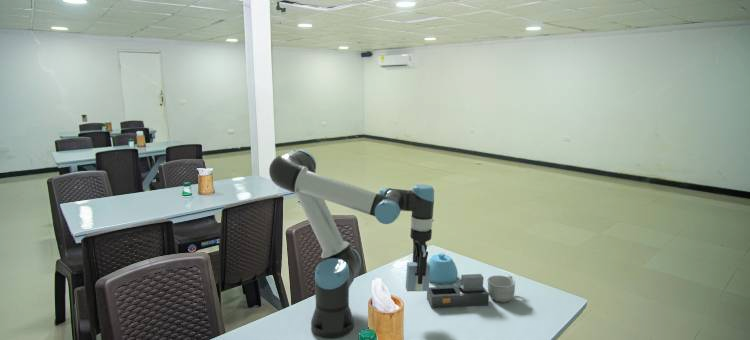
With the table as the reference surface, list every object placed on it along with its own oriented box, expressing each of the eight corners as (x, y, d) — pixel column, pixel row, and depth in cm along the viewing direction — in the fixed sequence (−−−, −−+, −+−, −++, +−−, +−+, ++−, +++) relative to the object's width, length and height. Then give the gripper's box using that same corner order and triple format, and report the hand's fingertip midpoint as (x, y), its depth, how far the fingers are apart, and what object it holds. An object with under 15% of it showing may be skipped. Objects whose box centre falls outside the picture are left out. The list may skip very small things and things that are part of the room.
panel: (407, 291, 149) (408, 265, 147) (405, 287, 152) (407, 262, 150) (428, 291, 150) (430, 265, 148) (426, 287, 153) (428, 262, 151)
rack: (431, 309, 159) (432, 282, 157) (426, 298, 167) (427, 273, 164) (488, 306, 162) (490, 280, 160) (481, 296, 169) (482, 271, 167)
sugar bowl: (422, 270, 193) (423, 247, 191) (454, 271, 193) (455, 248, 191) (425, 285, 179) (426, 260, 176) (459, 286, 178) (461, 261, 176)
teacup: (501, 307, 160) (503, 289, 159) (480, 296, 169) (481, 278, 168) (524, 298, 168) (526, 280, 167) (503, 287, 177) (504, 270, 175)
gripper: (437, 235, 139) (433, 299, 144) (426, 220, 155) (422, 278, 160) (416, 236, 138) (412, 299, 143) (406, 220, 154) (403, 278, 159)
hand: (417, 288), depth 151 cm, fingers closed on panel, 3 cm apart
